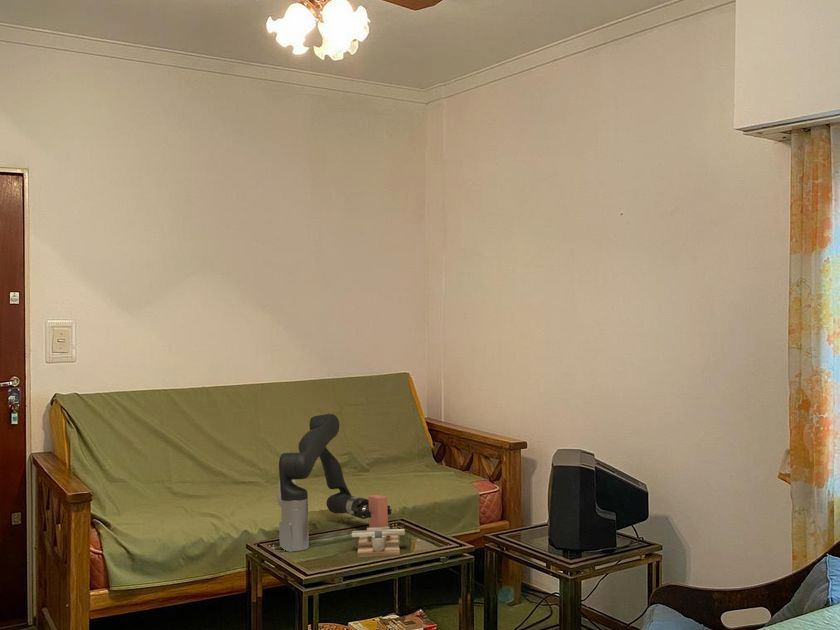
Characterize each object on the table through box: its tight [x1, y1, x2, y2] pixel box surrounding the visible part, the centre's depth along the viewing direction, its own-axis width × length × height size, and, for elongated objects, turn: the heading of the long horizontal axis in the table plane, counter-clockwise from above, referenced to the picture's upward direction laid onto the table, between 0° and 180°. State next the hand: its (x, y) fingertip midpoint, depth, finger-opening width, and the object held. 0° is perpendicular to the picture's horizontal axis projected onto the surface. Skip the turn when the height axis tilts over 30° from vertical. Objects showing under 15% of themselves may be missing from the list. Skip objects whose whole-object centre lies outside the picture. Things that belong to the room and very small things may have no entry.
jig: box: [351, 526, 406, 558], centre depth 295 cm, size 28×18×7 cm, turn 3°
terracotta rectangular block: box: [367, 494, 389, 528], centre depth 315 cm, size 7×4×14 cm, turn 33°
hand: (380, 513), depth 313 cm, fingers open, 8 cm apart
